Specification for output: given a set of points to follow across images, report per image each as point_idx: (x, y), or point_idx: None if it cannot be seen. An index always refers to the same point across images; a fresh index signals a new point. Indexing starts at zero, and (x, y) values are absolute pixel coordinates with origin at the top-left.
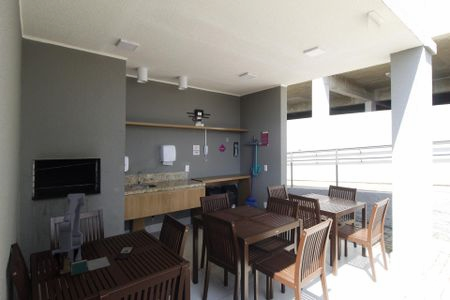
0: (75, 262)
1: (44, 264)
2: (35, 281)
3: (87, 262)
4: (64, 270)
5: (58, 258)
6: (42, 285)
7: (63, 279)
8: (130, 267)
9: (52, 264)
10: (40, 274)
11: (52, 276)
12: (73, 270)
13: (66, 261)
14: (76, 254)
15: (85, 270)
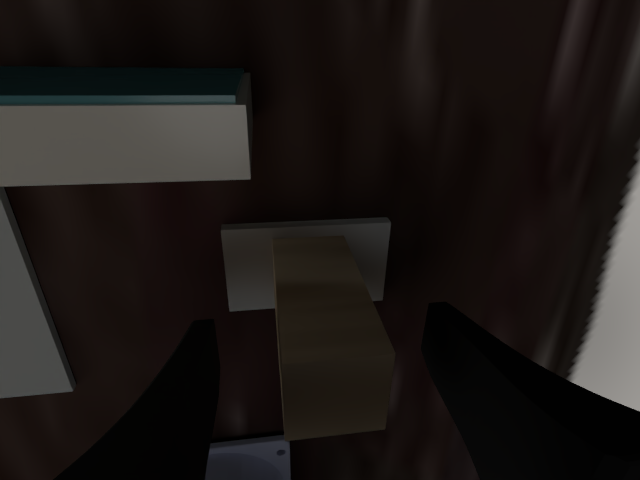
0: (143, 159)
1: (468, 476)
2: (632, 185)
3: (48, 362)
4: (343, 245)
5: (550, 398)
6: (626, 4)
7: (369, 11)
8: None
9: (416, 457)
10: (546, 319)
11: (469, 208)
12: (214, 76)
13: (342, 335)
14: (102, 448)
15: (6, 70)
